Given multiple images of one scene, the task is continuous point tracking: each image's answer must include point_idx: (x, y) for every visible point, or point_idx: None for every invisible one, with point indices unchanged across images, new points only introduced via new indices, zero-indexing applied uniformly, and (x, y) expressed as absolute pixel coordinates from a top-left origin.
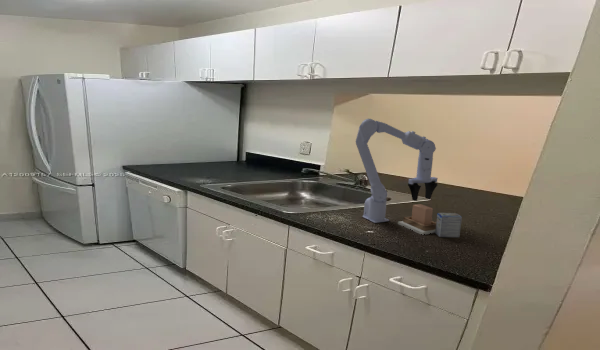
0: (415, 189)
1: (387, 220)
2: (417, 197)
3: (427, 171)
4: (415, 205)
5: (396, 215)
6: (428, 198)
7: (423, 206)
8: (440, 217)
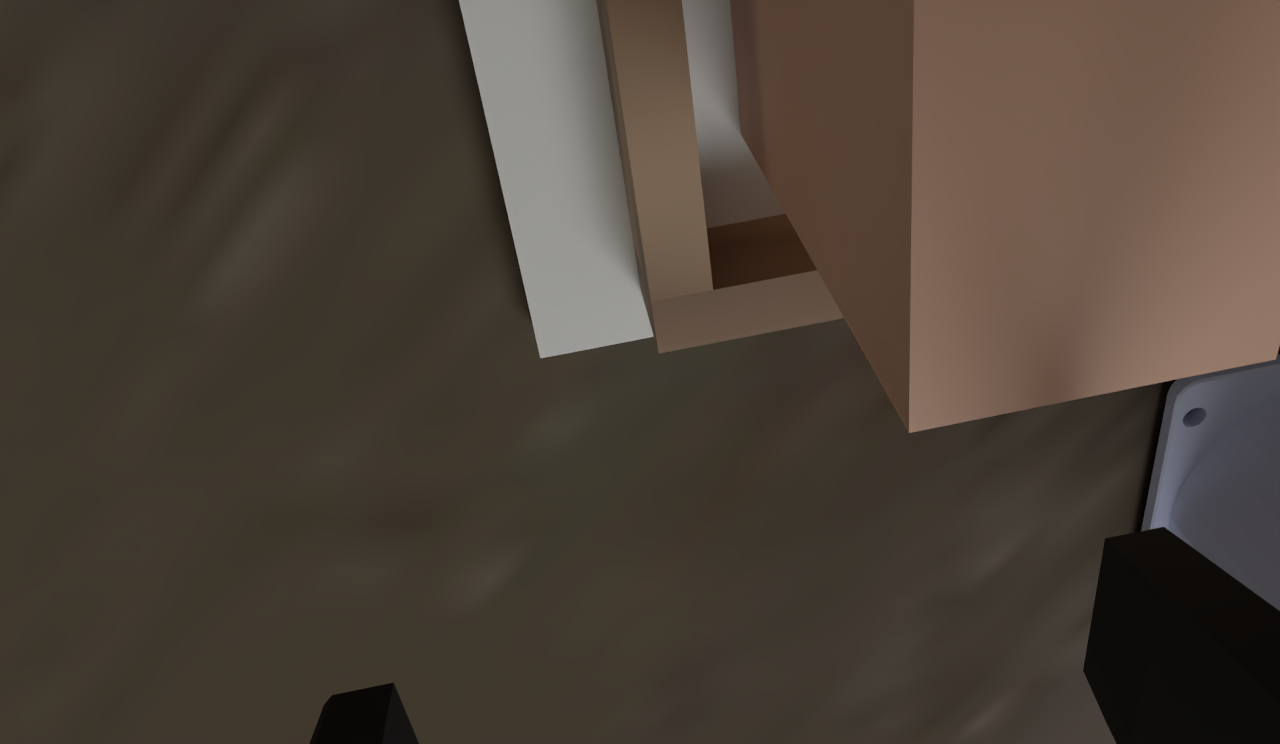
0: None
1: (1234, 373)
2: (1222, 626)
3: None
4: (1261, 281)
5: (772, 631)
6: (404, 730)
7: (1081, 99)
8: None
